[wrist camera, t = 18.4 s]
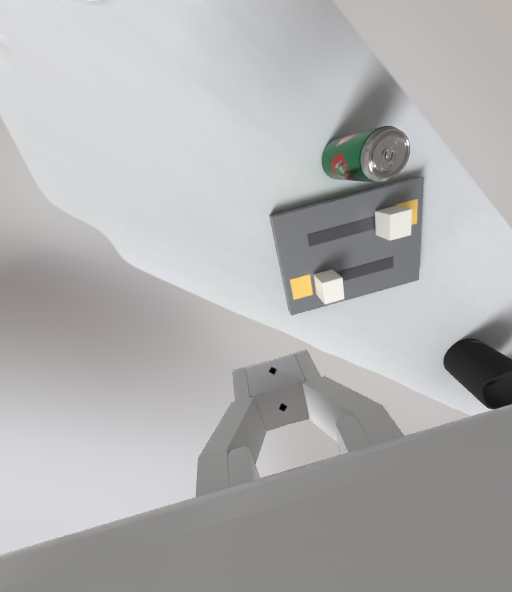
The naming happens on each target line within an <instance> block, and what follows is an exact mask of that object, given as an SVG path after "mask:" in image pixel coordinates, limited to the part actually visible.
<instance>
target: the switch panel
mask: <svg viewBox="0 0 512 592" xmlns="http://www.w3.org/2000/svg"><path fill="white" fill-rule="evenodd" d="M423 179H424V177H412V178H409V179H405V180H401V181H397V182H394V183H390V184H386V185H382V186H379V187H375V188H371V189H367V190H363V191H360V192H356V193H352V194H348V195H345V196H341V197H337V198H333V199H330V200H326V201H322V202H318V203H315V204H311V205H307V206H303V207H299V208H296V209H292V210H288V211H284V212H281V213H277V214H273V215H269V216H270V221H271V226H272V231H273V236H274V241H275V245H276V250H277V255H278V260H279V265H280V270H281V275H282V280H283V285H284V290H285V295H286V300H287V305H288V310H289V312H290V313H291V315H294V314H298V313H302V312H305V311H309V310H312V309H316V308H320V307H323V306H327V305H330V304H334V303H338V302H341V301H345V300H348V299H352V298H356V297H359V296H363V295H366V294H370V293H373V292H377V291H381V290H384V289H388V288H391V287H395V286H399V285H402V284H406V283H409V282H413V281H417V280H419V264H420V243H421V222H422V200H423ZM393 206H399V207H404V208H409V209H412V221H411V235H410V236H406V237H402V238H399V239H395V240H391V241H389V240H387V239H384V238H382V237H379V236H377V235H376V225H375V211H378V210H381V209H385V208H389V207H393ZM331 269H333V270H334V271H335V272H336V273H337V274H339V275H340V276H341V277H342V278H343V289H344V299H343V300H340V301H336V302H332V303H329V304H324V303H323V302H322V301H321V299H320V298H319V297H318V296H317V295H316V288H315V281H314V274H317V273H320V272H324V271H328V270H331Z"/></svg>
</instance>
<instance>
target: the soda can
mask: <svg viewBox="0 0 512 592" xmlns="http://www.w3.org/2000/svg"><path fill="white" fill-rule="evenodd" d="M409 154H410V143H409V140H408V138H407V136H406V135H405V134H404V133H403V132H402V131H400V130H399V129H397V128H395V127H392V126H383V127H379V128H375V129H371V130H367V131H363V132H360V133H356V134H352V135H348V136H344V137H340V138H337V139H334V140H333V141H331V142H330V143H329V144H328V145H327V147H326V148H325V150H324V152H323V156H322V166H323V169H324V172H325V173H326V174H327V175H328V176H329V177H330V178H332V179H338V180H352V181H366V182H384V181H387V180H389V179H390V178H392V177H393V176H395V175H397V174H398V173H399V172H400V171H401V170H402V169H403V168H404V166H405V165H406V163H407V161H408V158H409Z"/></svg>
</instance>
